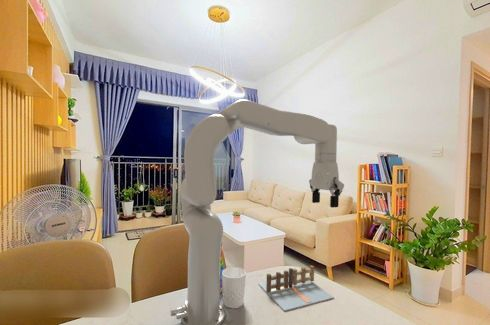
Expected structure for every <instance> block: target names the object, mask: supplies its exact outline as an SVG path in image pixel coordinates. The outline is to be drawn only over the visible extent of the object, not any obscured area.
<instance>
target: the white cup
mask: <svg viewBox="0 0 490 325" xmlns="http://www.w3.org/2000/svg"><path fill="white" fill-rule="evenodd" d="M246 274H247V272H246V270H245V269H244V268H241V267H237V266H236V267H227V268H224V270H223V271H222V292H221V293H222V304H223V305H224V306H225V307H226V308H228V309H238V308H240V307H242V306H243V305H244V300H245V299H244V297H245V292H246V290H245V289H246Z"/></svg>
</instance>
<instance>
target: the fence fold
mask: <svg viewBox="0 0 490 325" xmlns="http://www.w3.org/2000/svg"><path fill="white" fill-rule="evenodd" d="M292 269H293V281H292V284H293V285H297V283H301V282H302V283H305V281H312V282H314V281H315V266H313V265H309V268H306V267H304V266H302V267H300V270H297V269H296V268H292ZM306 274H309V276H306ZM298 275H301V278H299V279H297V276H298Z"/></svg>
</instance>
